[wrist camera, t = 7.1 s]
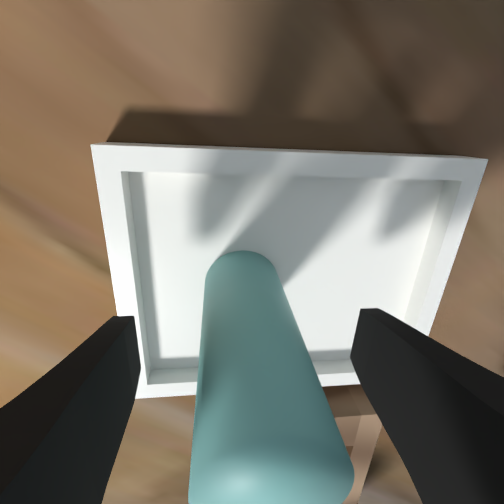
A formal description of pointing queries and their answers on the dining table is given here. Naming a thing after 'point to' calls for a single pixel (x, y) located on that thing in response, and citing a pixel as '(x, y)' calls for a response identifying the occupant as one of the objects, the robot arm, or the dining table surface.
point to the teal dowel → (260, 398)
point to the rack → (355, 430)
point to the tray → (277, 241)
